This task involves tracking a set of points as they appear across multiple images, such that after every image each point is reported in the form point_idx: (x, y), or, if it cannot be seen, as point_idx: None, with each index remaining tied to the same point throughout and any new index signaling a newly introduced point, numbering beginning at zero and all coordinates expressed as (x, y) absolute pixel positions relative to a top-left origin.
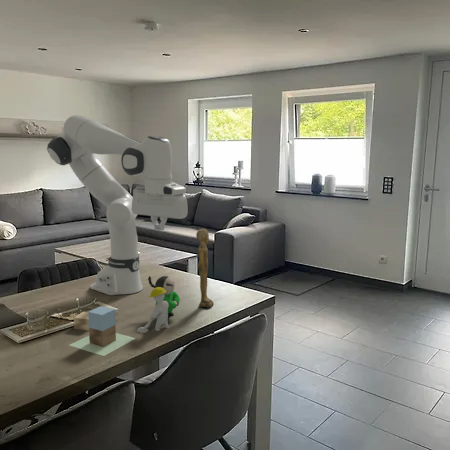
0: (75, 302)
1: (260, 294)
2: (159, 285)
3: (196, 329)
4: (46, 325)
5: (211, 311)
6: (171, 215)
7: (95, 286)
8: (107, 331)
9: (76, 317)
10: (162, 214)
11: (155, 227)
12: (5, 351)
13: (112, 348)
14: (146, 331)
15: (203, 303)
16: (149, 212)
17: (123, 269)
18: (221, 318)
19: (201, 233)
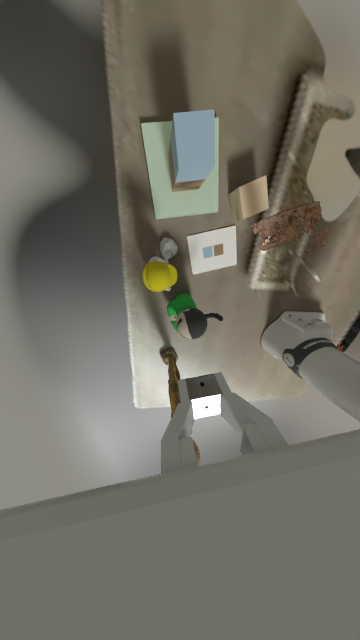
0: (313, 267)
1: (147, 405)
2: (190, 311)
3: (126, 301)
4: (303, 173)
5: (153, 348)
6: (23, 541)
7: (317, 316)
8: (171, 157)
9: (262, 178)
10: (149, 512)
11: (214, 381)
12: (303, 16)
13: (153, 161)
14: (161, 247)
15: (167, 353)
16: (322, 481)
17: (298, 343)
18: (129, 341)
19: None
